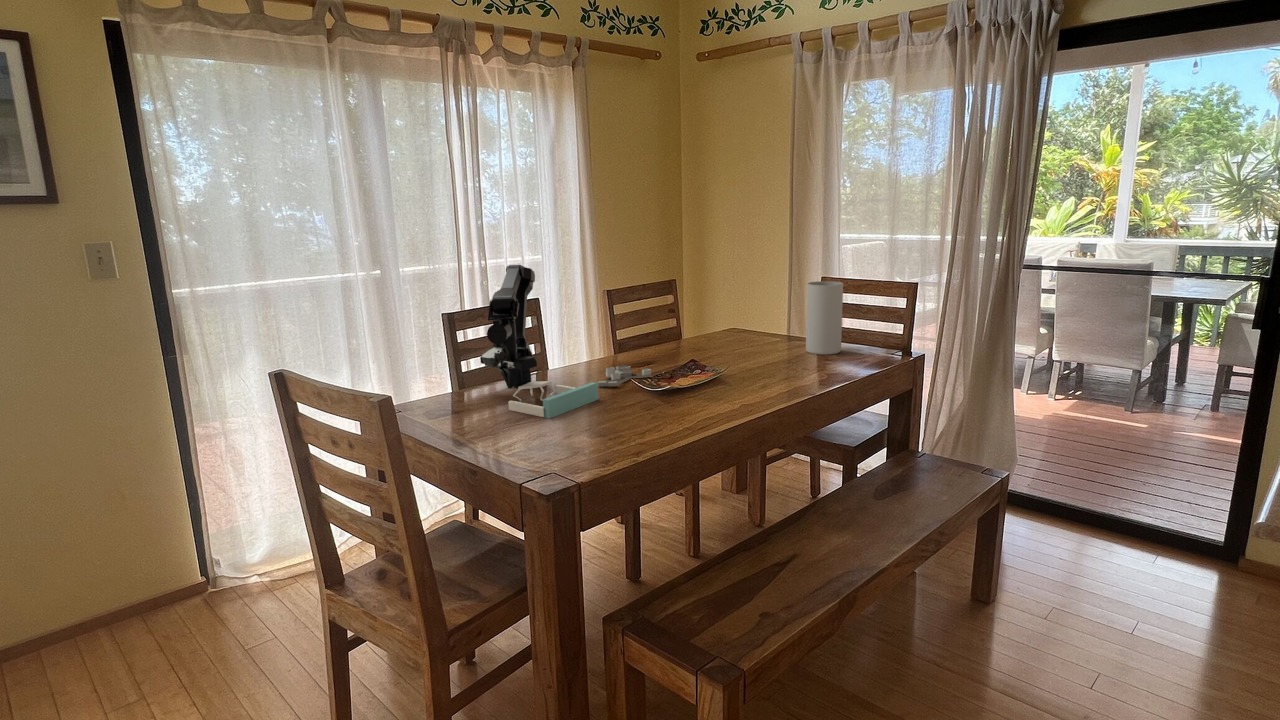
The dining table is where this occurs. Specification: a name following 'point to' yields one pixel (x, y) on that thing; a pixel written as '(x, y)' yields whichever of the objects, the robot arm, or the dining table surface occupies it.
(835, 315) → the cylinder vase
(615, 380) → the pulley system
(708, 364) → the dining table surface
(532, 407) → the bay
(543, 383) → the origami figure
